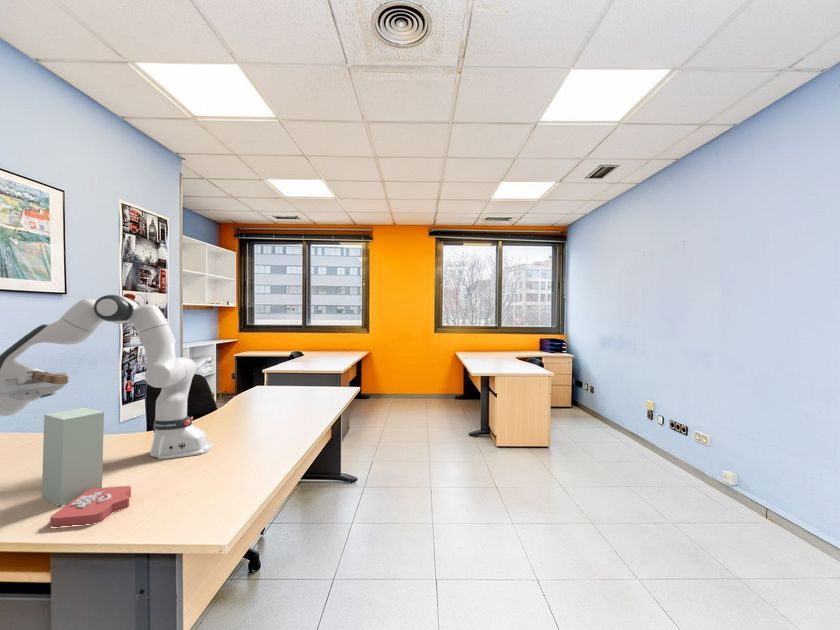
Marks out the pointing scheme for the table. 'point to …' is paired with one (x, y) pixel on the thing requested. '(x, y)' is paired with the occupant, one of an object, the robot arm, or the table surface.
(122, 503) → the plaque
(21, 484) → the table surface
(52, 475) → the pedestal
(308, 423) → the table surface
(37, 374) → the rod
